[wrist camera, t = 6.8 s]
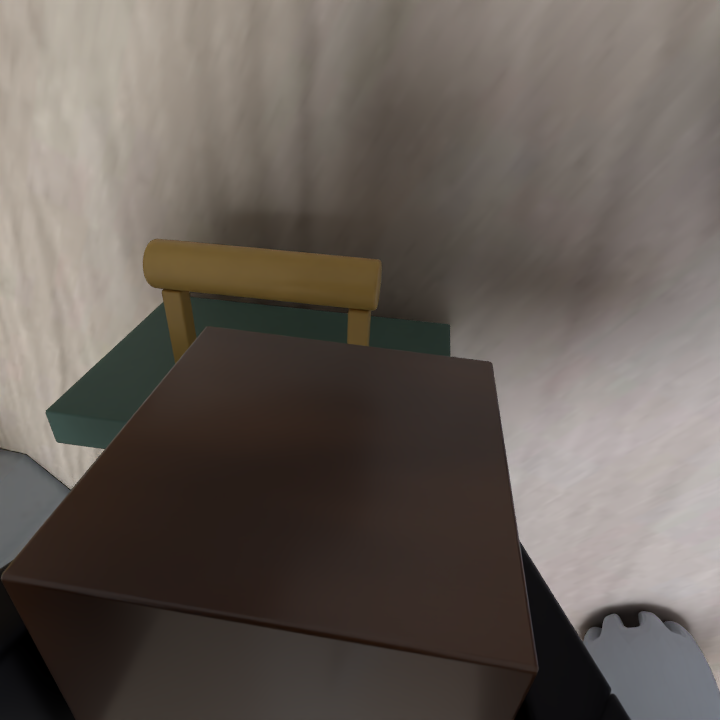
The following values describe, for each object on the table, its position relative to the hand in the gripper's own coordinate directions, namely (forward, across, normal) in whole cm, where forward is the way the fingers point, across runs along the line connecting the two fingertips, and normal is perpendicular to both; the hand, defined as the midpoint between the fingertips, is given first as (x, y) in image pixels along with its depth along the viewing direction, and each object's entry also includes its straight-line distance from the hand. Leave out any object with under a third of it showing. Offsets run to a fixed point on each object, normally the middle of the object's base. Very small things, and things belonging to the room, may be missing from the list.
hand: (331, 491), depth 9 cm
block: (+1, 0, 0) cm, 1 cm away
